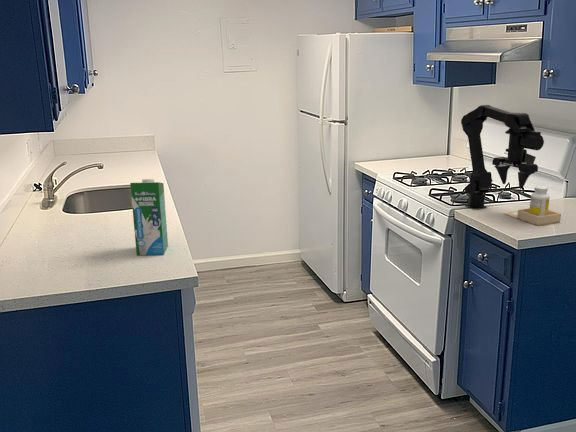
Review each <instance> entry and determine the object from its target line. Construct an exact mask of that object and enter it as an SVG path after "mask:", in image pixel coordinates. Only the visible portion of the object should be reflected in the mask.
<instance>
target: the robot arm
mask: <svg viewBox="0 0 576 432" xmlns="http://www.w3.org/2000/svg"><path fill="white" fill-rule="evenodd" d="M488 118H490V119H492V120H494V121H499V122H502V123H503V124H504V126H506V127H507V128H508V129H507V130H506V131H505V134H507V135H508V138H509V139H508V147H507V148H505V152H507V157H506V156H497V157H494V158H493V159H492V165H493V166H494V168H495V170H496V171H497V173H498V176H499V178H500V180H501V183H502V184H503V185H506V184H507V180H508V179H507V178H508V171H509V169H510V168H511V167H514V168H517V169H518V172H517V177H518V186H519V189H520V190H522V189H523V188H524V187H525V185H526V182H527V181H528V179H529V177H530V176H531V175H532V174H535V173H538V171H539V170H538V169H539V165H538V164H537V163H535V161H536V158H537V156H534V155H533V154H529V153H528V150H533V151H540V150H541V149H542V148H543V146H544V144H545V140H544V137H543V136H542V132H541V131H536V130H535V127H534V124H533V123H532V121H531V119H530V115H529V114H528V113H526V112H510V111H507V110H503V109H500V108H497V107H494V106H491V105H489V104H481V105H479V106H477V107H476V108H475V109H473V110H471V111H470V112H468V113H467V114H464V115H463V116H462V118H461V119H460V120H461V121H460V123H461V126H462V127H461V128H462V130H463V132H464V133H465V135H466V136H467V139H468V140H467V141H468V147H469V153H470V161H471V166H472V167H471V169H472V171H471V174H470V176H469V183H468V184H466V186H465V187H464V191H465V192H464V193H466V194H468V197H467V198H468V199H467V204H464V206H465V207H467V208H470V209H472V210H478V209H485V208H487V206H486V205H485V201H486V200H485V194H488V193H489V192H490V189H491V187H492V183H493V178H492V172H491V171H487V169H486V166H485V159H484V158H485V157H484V153H483V145H482V144H483V143H482V138H481V133H482V131H483V127H484V122H485V121H487V119H488Z"/></svg>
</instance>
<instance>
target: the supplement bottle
mask: <svg viewBox="0 0 576 432" xmlns="http://www.w3.org/2000/svg"><path fill="white" fill-rule="evenodd" d="M533 190H534V192H532V193H531V195H530V201H529V208H530V211H529V213H530V214H533V215H536V216H539V217H540V216H546V215H548V210H549V205H550V194H548V193H547V192H548V190H549V189H548V187H547V186H543V185H537V186H534V189H533Z"/></svg>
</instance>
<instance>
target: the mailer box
mask: <svg viewBox="0 0 576 432" xmlns="http://www.w3.org/2000/svg"><path fill="white" fill-rule="evenodd" d="M529 211H530V207H529V208H522V209H517V211H516V210H515V211H510V212H508V211H507V212H504V213H503V214H504V215H505V216H510V217H512V218H515V219H516V220H520V221H523V222H526V223H529V224H531V225H534V226H537V227H539V226H548V225H553V224H558V223H561V218H562V213H560V212H556V211H553V210H550V209H548V215H546V216H540V217H539V216H536V215H533V214H530V213H529Z"/></svg>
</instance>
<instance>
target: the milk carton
mask: <svg viewBox="0 0 576 432" xmlns="http://www.w3.org/2000/svg"><path fill="white" fill-rule="evenodd" d="M129 185H130V194H131V196H130V197H131V209H132V218H133V229H134V239H135V250H136V256H164V255H165V253H166V251H167V249H168V247H169V242H168V241H169V240H168V239H169V238H168V228H167V214H166V199H165V186H164V182H158V181H157V182H155V179H153V178H145V179H142V180H141V182H131V183H130V184H129Z"/></svg>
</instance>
